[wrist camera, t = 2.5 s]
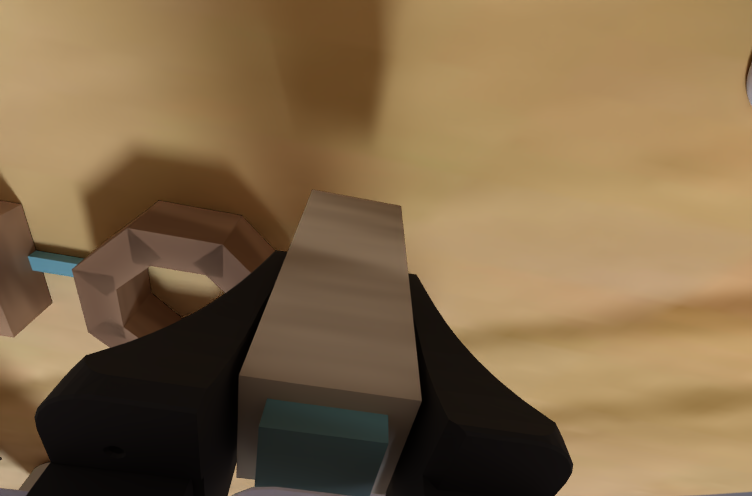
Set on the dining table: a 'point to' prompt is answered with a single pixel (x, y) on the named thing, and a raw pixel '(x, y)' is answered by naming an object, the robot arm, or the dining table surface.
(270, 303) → the brown and teal block
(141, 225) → the brown faceted ring
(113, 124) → the dining table surface
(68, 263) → the light blue thin bar
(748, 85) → the supplement bottle
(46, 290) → the threaded bead
